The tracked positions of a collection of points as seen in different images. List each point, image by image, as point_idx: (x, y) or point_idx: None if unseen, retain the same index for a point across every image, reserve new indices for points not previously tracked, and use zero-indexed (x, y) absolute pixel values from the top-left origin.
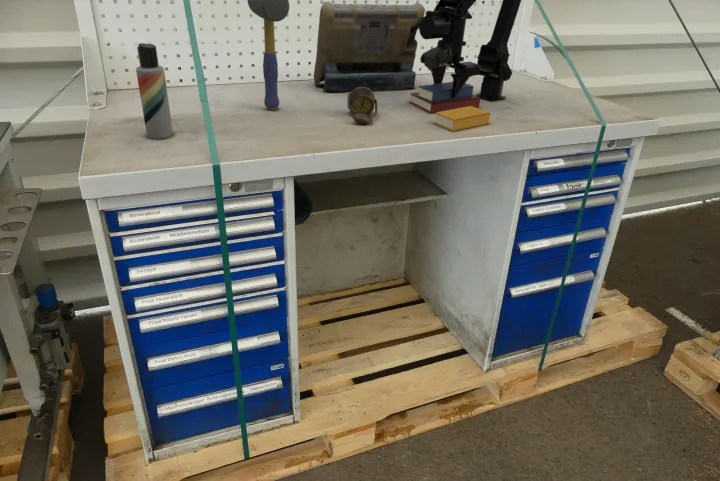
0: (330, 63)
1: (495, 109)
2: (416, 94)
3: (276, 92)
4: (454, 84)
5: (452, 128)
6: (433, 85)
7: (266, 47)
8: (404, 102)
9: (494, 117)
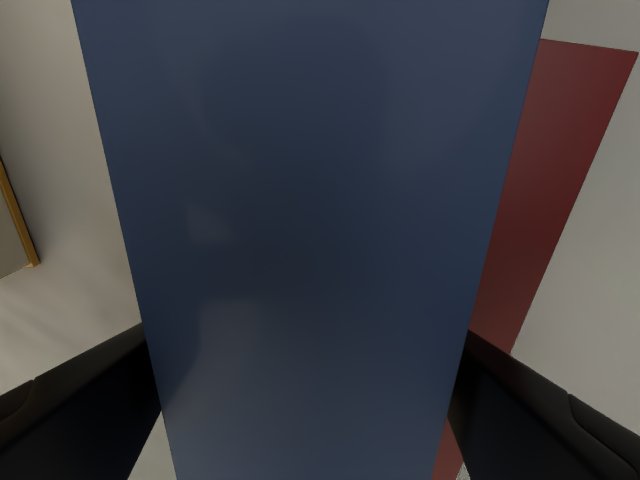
0: None
1: (147, 468)
2: (539, 83)
3: None
4: (3, 409)
5: None
6: (422, 266)
7: None
8: (591, 25)
9: (6, 380)
